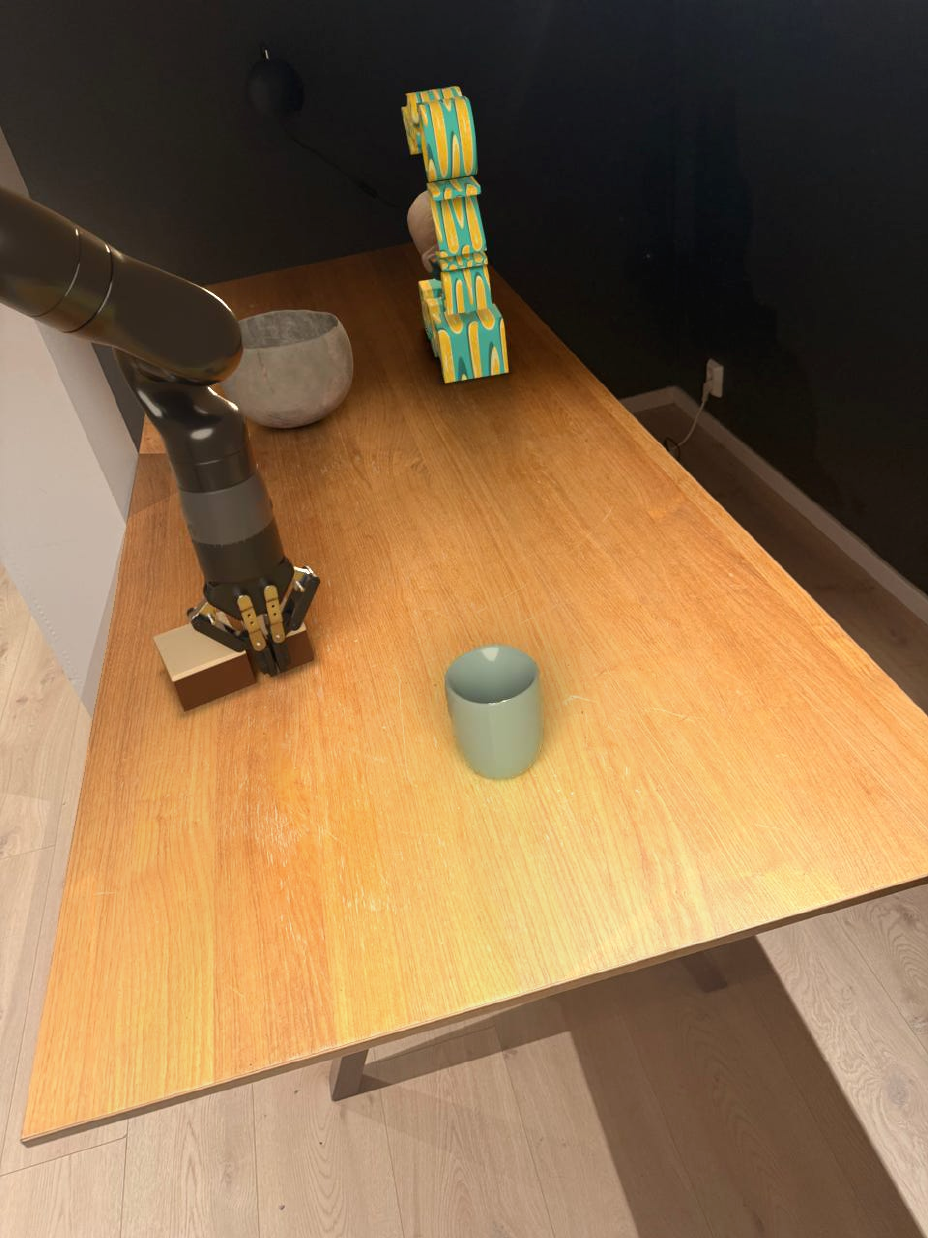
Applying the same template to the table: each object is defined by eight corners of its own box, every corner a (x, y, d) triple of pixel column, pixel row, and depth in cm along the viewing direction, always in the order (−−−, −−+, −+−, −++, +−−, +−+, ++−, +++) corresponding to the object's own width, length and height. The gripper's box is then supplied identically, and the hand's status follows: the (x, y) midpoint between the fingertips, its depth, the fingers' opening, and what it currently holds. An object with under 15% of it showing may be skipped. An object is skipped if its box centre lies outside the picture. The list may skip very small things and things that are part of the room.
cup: (498, 808, 79) (486, 719, 73) (441, 761, 84) (425, 675, 79) (565, 759, 83) (558, 671, 77) (506, 718, 88) (496, 632, 82)
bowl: (356, 441, 141) (336, 342, 132) (221, 455, 142) (193, 359, 133) (368, 386, 157) (351, 296, 149) (247, 400, 159) (223, 311, 150)
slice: (278, 674, 97) (267, 639, 95) (254, 636, 103) (244, 602, 101) (314, 659, 99) (305, 625, 96) (289, 622, 105) (279, 589, 102)
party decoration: (509, 374, 155) (484, 97, 131) (439, 385, 154) (401, 110, 131) (478, 314, 180) (452, 74, 157) (418, 324, 179) (383, 84, 156)
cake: (184, 712, 94) (171, 677, 92) (165, 670, 100) (152, 636, 98) (256, 683, 97) (244, 648, 94) (233, 644, 103) (222, 610, 100)
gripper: (287, 479, 89) (324, 628, 99) (147, 526, 85) (201, 676, 95) (315, 511, 83) (352, 664, 93) (167, 562, 79) (222, 718, 89)
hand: (276, 670), depth 94 cm, fingers closed
